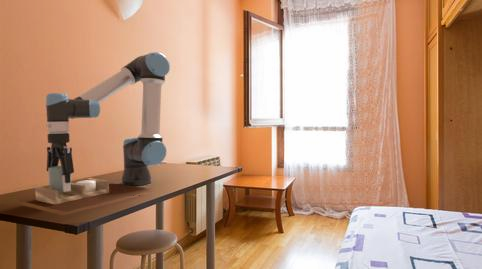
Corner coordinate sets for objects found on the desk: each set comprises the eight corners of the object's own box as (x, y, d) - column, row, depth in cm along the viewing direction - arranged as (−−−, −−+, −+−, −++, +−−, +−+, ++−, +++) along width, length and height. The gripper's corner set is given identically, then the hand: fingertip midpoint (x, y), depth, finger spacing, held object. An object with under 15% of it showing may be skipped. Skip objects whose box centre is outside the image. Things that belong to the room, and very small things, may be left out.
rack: (89, 191, 145) (89, 178, 145) (109, 195, 137) (108, 180, 137) (35, 202, 126) (35, 187, 125) (55, 207, 118) (54, 190, 118)
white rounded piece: (89, 190, 141) (89, 179, 141) (99, 192, 137) (99, 181, 137) (72, 194, 135) (72, 182, 135) (83, 196, 131) (82, 184, 131)
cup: (47, 195, 122) (46, 168, 121) (50, 191, 129) (49, 166, 128) (70, 192, 125) (69, 167, 124) (72, 189, 132) (71, 165, 132)
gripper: (34, 133, 128) (37, 189, 129) (63, 133, 117) (65, 194, 118) (54, 132, 135) (56, 186, 135) (82, 132, 124) (85, 190, 124)
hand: (60, 190), depth 127 cm, fingers closed on cup, 8 cm apart
